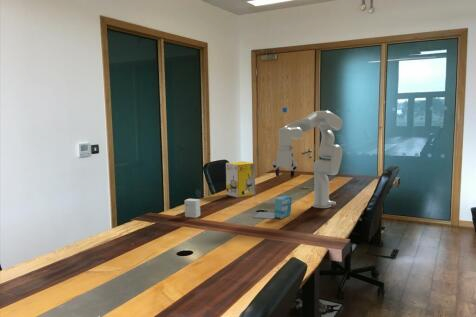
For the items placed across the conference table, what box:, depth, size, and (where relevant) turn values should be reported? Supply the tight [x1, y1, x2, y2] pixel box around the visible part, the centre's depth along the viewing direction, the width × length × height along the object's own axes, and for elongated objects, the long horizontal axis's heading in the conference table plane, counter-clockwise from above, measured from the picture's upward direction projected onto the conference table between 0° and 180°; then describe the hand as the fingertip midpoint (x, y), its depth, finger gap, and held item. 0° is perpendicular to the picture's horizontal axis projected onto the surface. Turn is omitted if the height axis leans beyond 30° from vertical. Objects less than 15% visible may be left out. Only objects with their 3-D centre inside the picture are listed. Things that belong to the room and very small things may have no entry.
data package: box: [273, 195, 293, 219], centre depth 242 cm, size 12×4×12 cm, turn 142°
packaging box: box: [225, 160, 256, 199], centre depth 310 cm, size 16×16×25 cm
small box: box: [183, 198, 201, 218], centre depth 246 cm, size 8×6×10 cm
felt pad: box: [252, 211, 276, 220], centre depth 246 cm, size 13×14×1 cm
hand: (284, 176), depth 241 cm, fingers open, 9 cm apart
